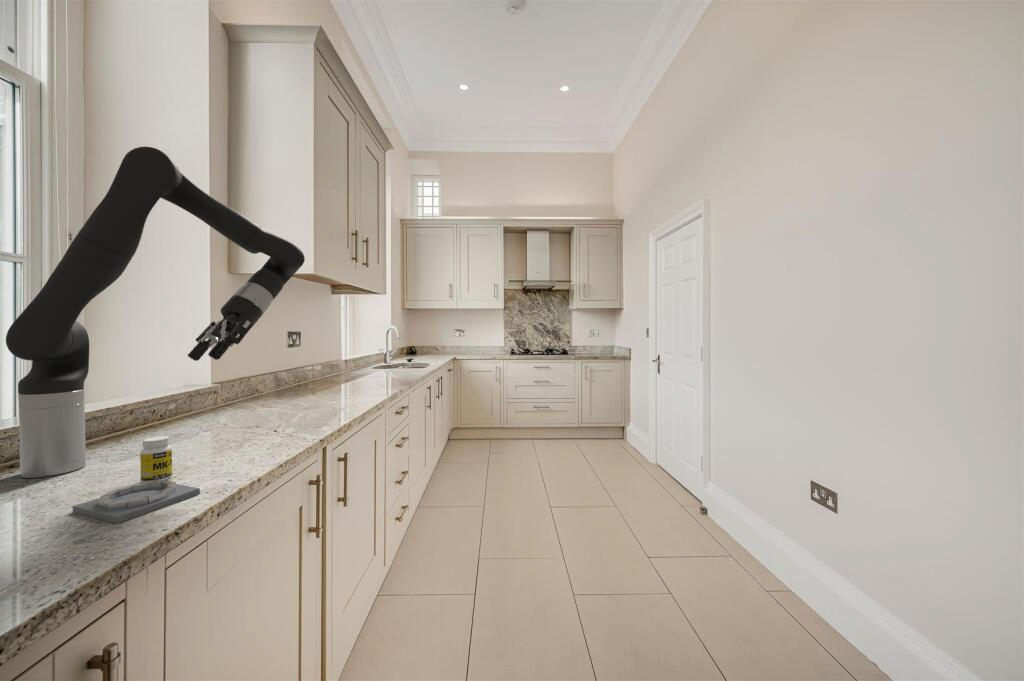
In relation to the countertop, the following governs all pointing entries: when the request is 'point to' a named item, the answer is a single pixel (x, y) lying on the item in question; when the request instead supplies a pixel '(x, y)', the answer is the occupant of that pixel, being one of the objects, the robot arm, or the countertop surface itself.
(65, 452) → the robot arm
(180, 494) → the slate board
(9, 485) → the countertop surface
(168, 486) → the ring collar
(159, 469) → the supplement bottle
